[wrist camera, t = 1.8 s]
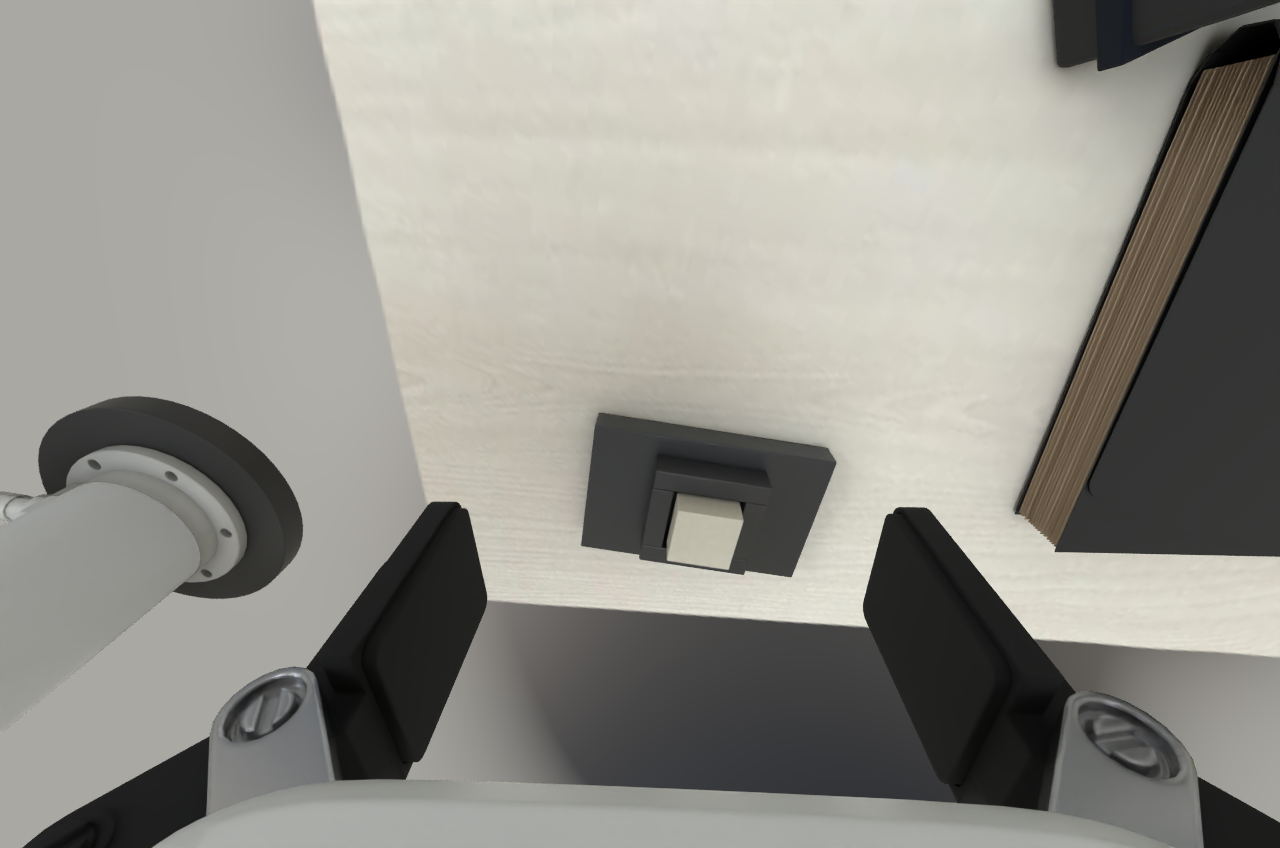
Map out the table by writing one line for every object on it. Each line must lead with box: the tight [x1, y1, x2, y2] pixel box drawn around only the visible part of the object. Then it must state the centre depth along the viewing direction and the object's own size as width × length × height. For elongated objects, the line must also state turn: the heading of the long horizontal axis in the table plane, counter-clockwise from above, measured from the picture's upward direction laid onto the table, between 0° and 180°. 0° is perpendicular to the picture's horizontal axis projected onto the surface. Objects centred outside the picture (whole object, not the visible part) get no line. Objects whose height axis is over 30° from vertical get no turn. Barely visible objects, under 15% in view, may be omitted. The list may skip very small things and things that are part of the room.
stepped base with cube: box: [581, 413, 836, 577], centre depth 29 cm, size 14×9×4 cm, turn 82°
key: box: [667, 492, 744, 570], centre depth 27 cm, size 4×4×2 cm
